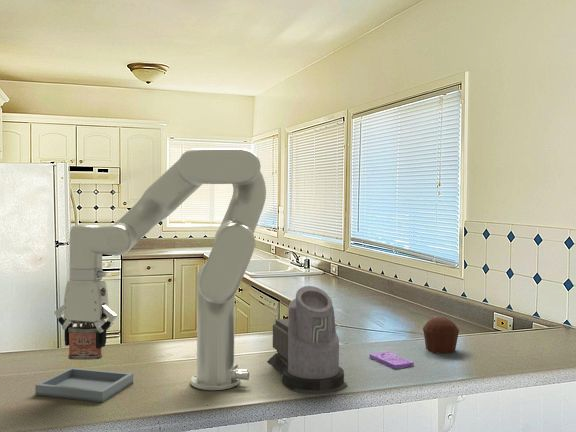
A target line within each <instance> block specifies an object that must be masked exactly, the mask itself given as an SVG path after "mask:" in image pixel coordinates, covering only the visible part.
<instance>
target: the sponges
mask: <svg viewBox="0 0 576 432" xmlns="http://www.w3.org/2000/svg"><path fill="white" fill-rule="evenodd" d="M368 358H369V359H371V360H373V361H375V362H378V363H380V364H383V365H384V366H386V367H389V368H391V369H393V370H400V369H403V368H411V367H414V366H415V365H414V364H415V362H414V361H412V360H410V359H407V358H404V357H403V356H401V355H398V354H395V353H394V352H391V351H389V350H385V351H378V352H371V353H369V357H368Z"/></svg>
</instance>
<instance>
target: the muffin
mask: <svg viewBox="0 0 576 432" xmlns="http://www.w3.org/2000/svg"><path fill="white" fill-rule="evenodd" d="M422 331H423V337H424V344H425V349H426V350H427V352H430V353H433V354H434V353H435V354H443V355H445V354H453V353H455V352H456V349H457V343H458V338H459V333H460V329H459V328H458V326H457V325H456V323H454V321H452V320H450V319H449V318H447V317H440V316H439V317H434V318H430V319H429V320H428V321H427V322H426V323H425V324H424V325H423V327H422Z"/></svg>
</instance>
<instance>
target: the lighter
mask: <svg viewBox="0 0 576 432" xmlns="http://www.w3.org/2000/svg"><path fill="white" fill-rule="evenodd" d="M71 324H74V325H76V326H73V327H70V328H68V332H69V345H68V356H67V359H68V360H73V361H74V360H75V361H91V360H92V361H93V360H94V361H95V360H101V359H103V353H102V348H100V349H97V348H96V333H97V332H98V330H97V328H96V326H95V324H94V323H92V322H79V321H71Z"/></svg>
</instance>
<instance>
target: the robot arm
mask: <svg viewBox="0 0 576 432" xmlns="http://www.w3.org/2000/svg"><path fill="white" fill-rule="evenodd" d="M202 185H232V189H233V190H232V197H231V199H230V202H229V204H228V207H227V209H226V212H225V214H224V217H223V219H222V221H221V224H220V225H219V227H218V229H217V231H216V232H215V235H214V243H213V246H212V249H211V251H210V253H209V255H208V257H207V260H206V262H204V263H203V264H202V265H201V267H200V268H199V270H198V272H197V276H196V293H197V294H196V296H197V299H196V300H197V301H196V303H197V304H196V306H197V308H196V309H197V310H196V311H197V312H196V314H197V315H196V316H197V317H196V320H197V321H196V323H197V324H196V374H194V375H193V376H191V378H190V385H192V387H193V388H195V389H199V390H204V391H223V390H228V389H232V388H235V387H237V386H238V385H239V384H240V383H241V380H243V381H249V379H250V372H249V370H247V369H240V368H239V367H238V366H239V365H238V363H237V362H235V319H236V318H235V317H236V316H235V315H236V314H235V313H236V311H235V306H236V305H235V304H236V303H235V297H236V296H235V295H236V293H237V291H238V290H239V287H240V285H241V282H242V281H243V278H244V276H245V274H246V271H247V269H248V266H249V264H250V261H251V259H252V256H253V254H254V251H255V247H256V239H255V234H254V233H255V231H256V229H257V226H258V223H259V220H260V217H261V215H262V212H263V209H264V206H265V202H266V198H267V188H266V182H265V178H264V176H263V174H262V172H261V161H260V158H259V157H258V156H257V154H256V153H255V152H253V151H252V150H249V149H247V148H191V149H188V150H186V151H185V152H184V153H182V154H181V156H180V157H179V159H178V160H176V162H174V164H173V165H171V166H170V167H169V168H168V169H167V170H166V171H165V172H164V173H163V174H162V175H161V176H159V177H158V178H157V179H156V180H155V181H154V182H153V183H152V184H151V185H149V187H148V188H147V189H146V190H145V191H144V192H143V194H142V195H141V197H140V199H139V200H138V201H137V202H136V203H135V204H134V205H133V206H132V207H130V209H129V210H128V211H127V212H126V213H124V215H123V216H122V217H121V218H119V220H117V221H116V222H115V223H114V224H112V225H106V226H103V225H102V226H100V225H98V224H75V225H73V226H71V228H70V229H69V230H70V231H69V274H68V275H69V277H68V278H69V279H68V280H67V281H66V286H65V290H64V299H63V305H61V306H60V307H58V308H57V309H56V310H54V315H55V316H56V319H58V320H57V321H58V322H59V324H60V325H61V327H62V329H63V330H64V345H65V347H67V346H68V347H69V332H68V328H70V327H74V325H75V324H71V321H79V322H92V323H94V324H95V326H96V328H97V330H98V332H97V333H96V348H97V349H100V348H101V349H102V348H104V347H106V343H107V331H108V330H109V328H111V326H112V325H113V324H114V322H115V321H116V319H117V318H118V314H117V313H116V312H114V311H113V310H112V309H111V308H110V306H109V296H108V295H109V294H108V288H107V284H106V283H107V282H106V280H105V279H103V278H105V277H107V271H105V270H103V255H107V256H123V255H125V254H127V253H128V252H129V251H130V250H131V249H132V248H134V247H135V245H137V244H138V242H140V240H141V239H143V238H144V236H146V235H147V234H148V233H149V232H151V230H152V229H153V228H155V226H156V225H158V224H159V223H160V222H162V221H163V220H165V219H166V218H168V217H169V216H171V214H173V213H174V212H175V211H176V210H177V209H178V208H179V207H180V206H181V205H182V204H183V203H184V202H185V201H186V200H188V198H190V197H191V196H192V194H194V193H195V192H196V191H197V190H198V189H199V188H200V187H202ZM106 319H107V320H106Z"/></svg>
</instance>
